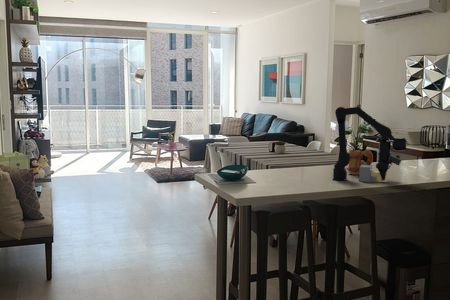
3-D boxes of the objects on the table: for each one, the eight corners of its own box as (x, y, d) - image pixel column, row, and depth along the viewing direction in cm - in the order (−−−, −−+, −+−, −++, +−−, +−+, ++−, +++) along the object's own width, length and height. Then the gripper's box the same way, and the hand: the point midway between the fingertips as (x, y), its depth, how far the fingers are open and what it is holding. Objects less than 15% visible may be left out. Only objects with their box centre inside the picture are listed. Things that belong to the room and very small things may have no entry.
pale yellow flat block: (364, 180, 239) (364, 171, 238) (365, 179, 241) (365, 170, 241) (386, 182, 234) (386, 172, 234) (386, 181, 236) (386, 172, 236)
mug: (344, 174, 258) (345, 149, 256) (348, 172, 265) (348, 147, 263) (370, 176, 251) (371, 150, 249) (373, 174, 258) (374, 148, 256)
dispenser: (359, 181, 238) (359, 166, 237) (361, 178, 245) (362, 164, 244) (375, 182, 234) (376, 167, 233) (377, 179, 241) (378, 165, 240)
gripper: (399, 153, 222) (398, 183, 224) (402, 149, 239) (401, 177, 241) (376, 152, 227) (375, 182, 229) (380, 148, 244) (379, 176, 245)
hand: (383, 179), depth 236 cm, fingers closed on pale yellow flat block, 2 cm apart
